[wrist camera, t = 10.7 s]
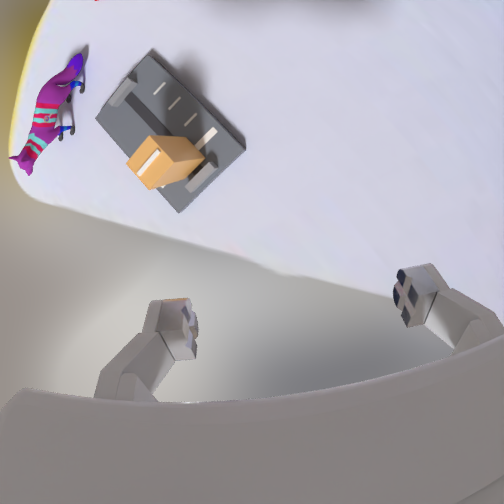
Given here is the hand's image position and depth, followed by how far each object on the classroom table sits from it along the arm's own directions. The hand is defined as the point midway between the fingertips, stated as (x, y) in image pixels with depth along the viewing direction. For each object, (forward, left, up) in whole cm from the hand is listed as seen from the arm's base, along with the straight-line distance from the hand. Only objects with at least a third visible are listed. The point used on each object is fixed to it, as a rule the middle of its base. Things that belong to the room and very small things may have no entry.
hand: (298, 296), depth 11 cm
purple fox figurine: (-22, -27, -25) cm, 43 cm away
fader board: (-13, -13, -25) cm, 31 cm away
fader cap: (-8, -11, -23) cm, 27 cm away
